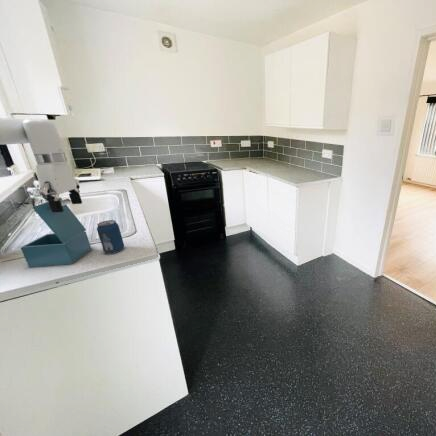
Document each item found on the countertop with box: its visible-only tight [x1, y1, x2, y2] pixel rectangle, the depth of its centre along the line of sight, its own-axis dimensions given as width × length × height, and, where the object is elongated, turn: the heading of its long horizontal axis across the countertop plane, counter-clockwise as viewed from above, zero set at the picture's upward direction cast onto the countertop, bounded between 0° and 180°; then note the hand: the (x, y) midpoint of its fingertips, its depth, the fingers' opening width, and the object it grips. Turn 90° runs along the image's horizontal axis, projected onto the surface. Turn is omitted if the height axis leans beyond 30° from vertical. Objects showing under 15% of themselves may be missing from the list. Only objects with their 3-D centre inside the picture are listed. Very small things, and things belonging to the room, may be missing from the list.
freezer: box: [20, 231, 92, 268], centre depth 92 cm, size 14×12×8 cm
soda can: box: [96, 219, 125, 255], centre depth 96 cm, size 7×7×12 cm
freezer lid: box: [31, 196, 87, 244], centre depth 89 cm, size 15×12×6 cm
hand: (68, 207), depth 88 cm, fingers open, 9 cm apart
